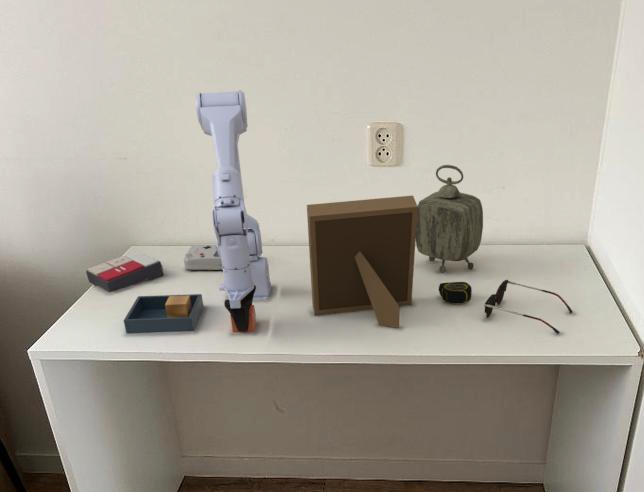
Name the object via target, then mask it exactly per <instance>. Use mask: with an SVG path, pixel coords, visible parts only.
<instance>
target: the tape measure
mask: <svg viewBox="0 0 644 492" xmlns="http://www.w3.org/2000/svg"><path fill="white" fill-rule="evenodd" d="M438 292H439V296H440V297H441V299H442V301H443V302H444V303H446V304H452V305H460V304H465V303H468V302H469V301H470V300H471V299H472V295H473V289H472V286H471V285H470V284H469V283H468V282H466V281H452V282H441V283H439V285H438Z"/></svg>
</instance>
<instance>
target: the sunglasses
mask: <svg viewBox="0 0 644 492" xmlns="http://www.w3.org/2000/svg"><path fill="white" fill-rule="evenodd" d="M508 284H510V285H516V286H520V287H523V288H526V289H531V290H535V291H539V292H543V293H546V294H550V295H553V296H556V297H557V298H559V299H560V300H561V302H562V303H563V305H565V307H566V308H567V310H568V312H569V314H572V313H574V312H573V310H572V307H570V306H569V304H568V303H567V302H566V301H565V300H564V298H563V297H561V295H559V294H558V293H556V292H552V291H549V290H545V289H541V288H538V287H534V286H529V285H525V284H521V283H517V282H514V281H512V280H511V281H510V280H508V279H504V280H503V281H502V282H501V283H500V285H499V286H498V287H497V290H496V292H495V293H493V294H490V296H489V297H488V298H487V299H486V301H485V302H484V314H485V319H489V318H490V317H491V316H492V313H493V311H494V310H499V311H504V312H506V313H510V314H514V315H516V316H517V315H518V316H522V317H525V318H528V319H533V320H536V321H538V322H539V321H540V322H541V323H543V324H545V325H546V326H548V327H549V328H550V329H552V330H553V331H554V332H555V333H556V334H557V335H559V334H560V331H559V330H558V329H557V328H555V327H554V326H553V325H551V324H550V323H548V322H547V321H546V320H545V319H542V318H539V317H535V316H532V315H528V314H525V313H524V314H523V313H519V312H516V311H512V310H509V309H504V308H501V307H499V306H500V305H501V304H502V302H503V300H504V297H505V292H507V289H508Z"/></svg>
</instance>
